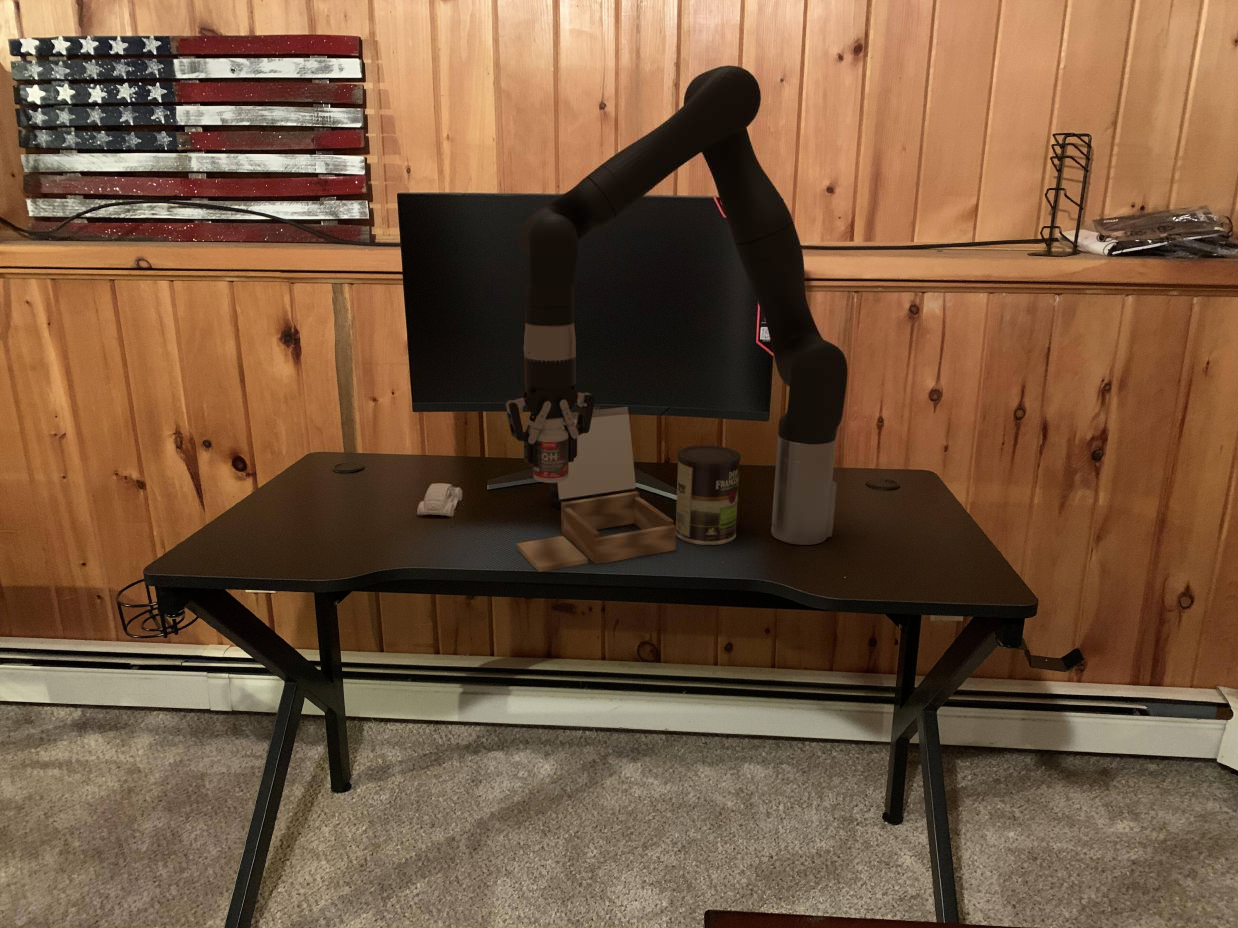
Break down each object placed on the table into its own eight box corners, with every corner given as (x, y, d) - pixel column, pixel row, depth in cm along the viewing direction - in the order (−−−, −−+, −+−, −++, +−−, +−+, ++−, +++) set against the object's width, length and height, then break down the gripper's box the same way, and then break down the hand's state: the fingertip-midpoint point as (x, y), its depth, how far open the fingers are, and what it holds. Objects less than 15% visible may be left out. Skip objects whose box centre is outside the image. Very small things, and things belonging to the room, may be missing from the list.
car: (450, 521, 159) (449, 495, 158) (415, 519, 160) (414, 494, 158) (466, 497, 171) (465, 473, 169) (433, 496, 171) (432, 472, 170)
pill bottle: (543, 486, 138) (542, 422, 135) (527, 475, 142) (526, 414, 139) (575, 480, 140) (574, 418, 137) (558, 470, 145) (557, 410, 142)
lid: (635, 488, 158) (633, 487, 159) (627, 406, 157) (625, 407, 158) (560, 499, 152) (558, 498, 153) (551, 415, 151) (549, 415, 152)
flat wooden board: (562, 540, 151) (562, 535, 151) (587, 563, 142) (587, 558, 142) (516, 548, 148) (516, 543, 147) (539, 572, 139) (539, 567, 139)
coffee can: (748, 533, 155) (753, 453, 151) (712, 550, 148) (717, 467, 143) (698, 518, 162) (702, 440, 157) (662, 534, 154) (664, 453, 150)
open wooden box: (636, 520, 160) (636, 491, 158) (675, 549, 148) (676, 518, 146) (561, 532, 154) (561, 502, 152) (596, 564, 142) (596, 531, 140)
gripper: (512, 362, 129) (514, 476, 134) (605, 354, 135) (604, 464, 140) (495, 352, 135) (498, 462, 141) (584, 345, 141) (584, 451, 147)
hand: (551, 462), depth 140 cm, fingers closed on pill bottle, 5 cm apart
